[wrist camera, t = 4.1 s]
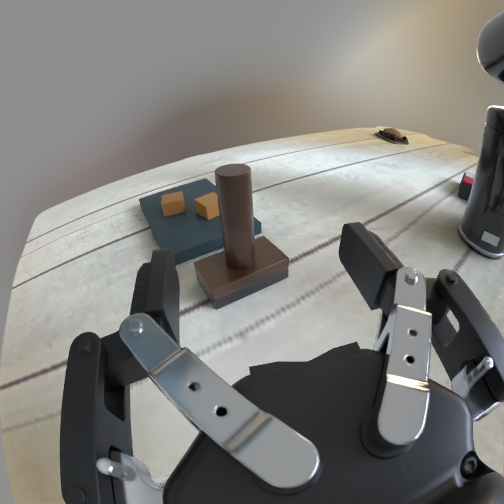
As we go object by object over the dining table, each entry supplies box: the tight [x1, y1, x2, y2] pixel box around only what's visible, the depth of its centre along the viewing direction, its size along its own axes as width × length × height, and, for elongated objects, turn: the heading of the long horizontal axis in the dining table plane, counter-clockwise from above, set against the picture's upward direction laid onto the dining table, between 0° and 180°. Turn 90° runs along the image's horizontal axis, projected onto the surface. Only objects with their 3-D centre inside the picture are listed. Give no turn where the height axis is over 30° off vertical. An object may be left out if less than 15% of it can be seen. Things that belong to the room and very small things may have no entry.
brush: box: [194, 164, 289, 309], centre depth 24 cm, size 8×4×12 cm, turn 120°
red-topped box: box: [458, 172, 475, 200], centre depth 40 cm, size 11×4×15 cm
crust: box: [161, 191, 185, 217], centre depth 36 cm, size 3×3×2 cm
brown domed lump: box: [375, 128, 409, 144], centre depth 74 cm, size 11×8×4 cm
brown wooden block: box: [194, 192, 220, 220], centre depth 35 cm, size 3×3×2 cm
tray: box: [139, 178, 261, 265], centre depth 37 cm, size 12×18×2 cm, turn 30°
